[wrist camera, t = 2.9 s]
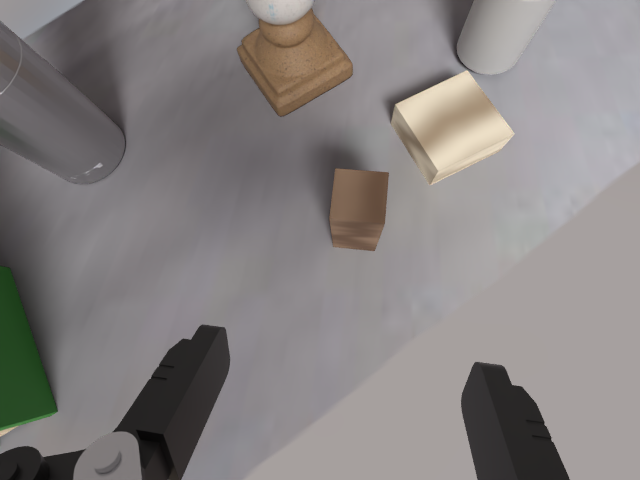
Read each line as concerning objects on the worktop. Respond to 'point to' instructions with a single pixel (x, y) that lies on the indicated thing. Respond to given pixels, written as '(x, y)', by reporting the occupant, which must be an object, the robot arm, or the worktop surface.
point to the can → (499, 33)
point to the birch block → (450, 127)
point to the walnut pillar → (358, 208)
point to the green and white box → (19, 364)
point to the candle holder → (292, 54)
